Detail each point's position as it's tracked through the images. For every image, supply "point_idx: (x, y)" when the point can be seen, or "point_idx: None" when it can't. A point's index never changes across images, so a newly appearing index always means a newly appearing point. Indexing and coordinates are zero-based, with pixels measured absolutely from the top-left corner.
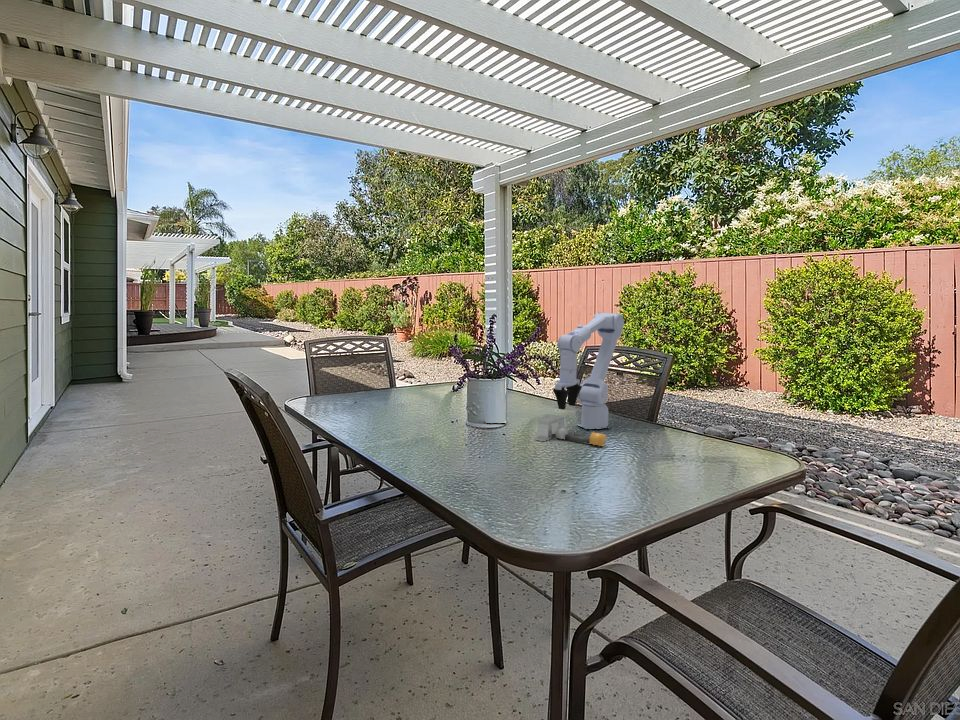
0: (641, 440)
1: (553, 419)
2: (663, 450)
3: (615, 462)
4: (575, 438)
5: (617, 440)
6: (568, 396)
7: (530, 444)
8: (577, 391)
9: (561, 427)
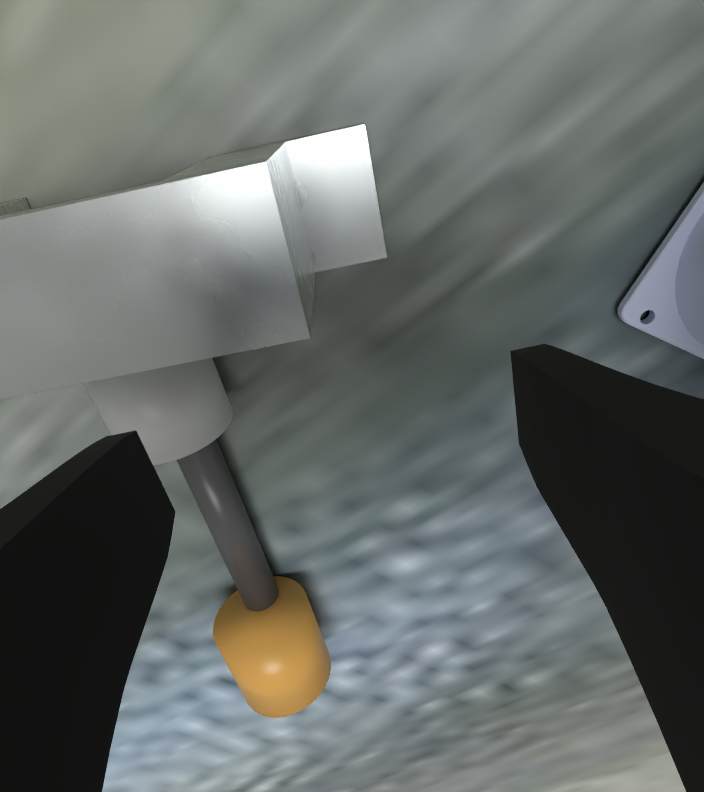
0: (620, 664)
1: (50, 358)
2: (499, 784)
3: (117, 780)
4: (199, 507)
5: (508, 599)
6: (592, 423)
7: None
8: (681, 762)
9: (144, 409)
